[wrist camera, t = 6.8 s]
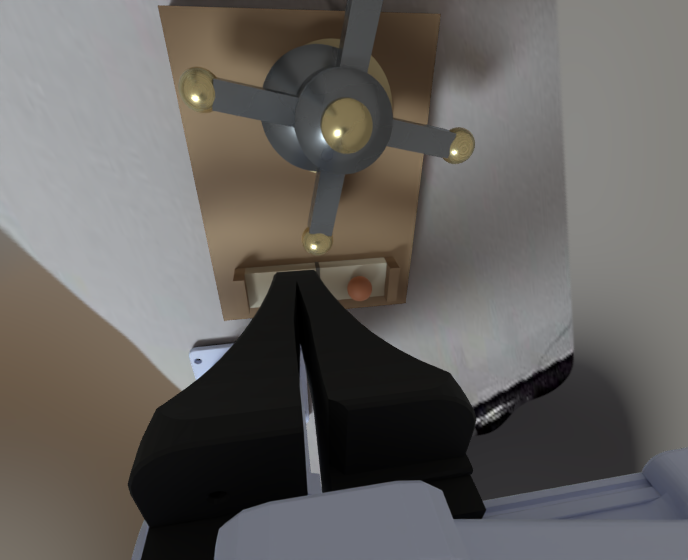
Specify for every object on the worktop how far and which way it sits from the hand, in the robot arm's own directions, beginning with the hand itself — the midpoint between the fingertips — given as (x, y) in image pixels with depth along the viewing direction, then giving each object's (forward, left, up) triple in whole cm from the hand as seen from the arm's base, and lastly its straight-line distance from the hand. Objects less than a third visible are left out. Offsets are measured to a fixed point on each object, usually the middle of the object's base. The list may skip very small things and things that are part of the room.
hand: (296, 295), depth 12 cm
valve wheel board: (+1, -1, -10) cm, 11 cm away
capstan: (+5, -2, -8) cm, 10 cm away
